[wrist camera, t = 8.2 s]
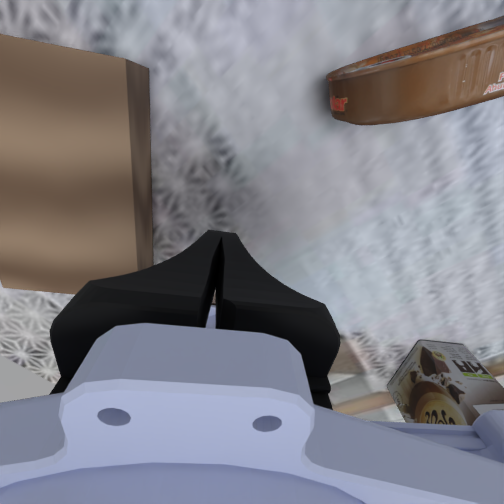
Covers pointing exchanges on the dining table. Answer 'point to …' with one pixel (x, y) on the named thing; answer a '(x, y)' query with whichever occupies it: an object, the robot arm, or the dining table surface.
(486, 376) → the coffee box
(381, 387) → the dining table surface
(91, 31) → the dining table surface
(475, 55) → the tin
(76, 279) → the brown wooden block
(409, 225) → the dining table surface
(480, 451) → the robot arm
